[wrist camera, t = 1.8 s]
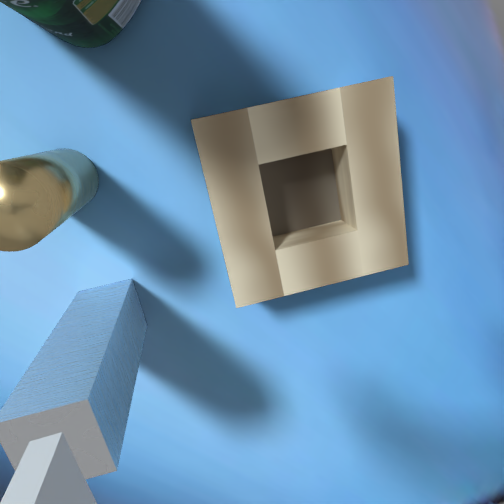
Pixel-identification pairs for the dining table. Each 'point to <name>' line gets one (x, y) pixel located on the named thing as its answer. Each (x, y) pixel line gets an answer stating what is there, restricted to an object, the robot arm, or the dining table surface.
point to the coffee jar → (78, 18)
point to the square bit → (81, 380)
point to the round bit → (42, 194)
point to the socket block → (306, 189)
